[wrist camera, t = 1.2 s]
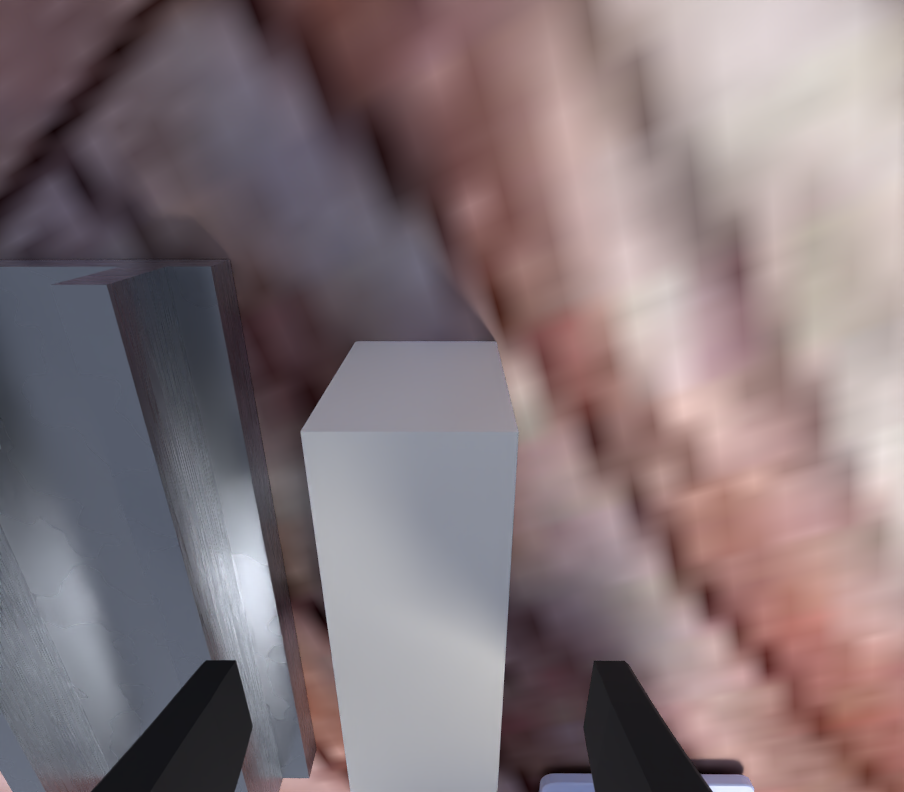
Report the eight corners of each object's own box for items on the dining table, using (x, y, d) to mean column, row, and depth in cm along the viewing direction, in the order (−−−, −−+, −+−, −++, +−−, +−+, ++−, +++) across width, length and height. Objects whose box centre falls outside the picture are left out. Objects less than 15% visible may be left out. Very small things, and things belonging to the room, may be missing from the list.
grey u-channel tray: (316, 748, 19) (292, 846, 16) (79, 747, 19) (15, 844, 16) (229, 259, 12) (159, 284, 9) (-154, 260, 12) (-341, 285, 9)
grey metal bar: (483, 670, 17) (494, 846, 13) (383, 669, 17) (357, 845, 13) (495, 339, 13) (518, 432, 8) (356, 339, 13) (300, 431, 8)
